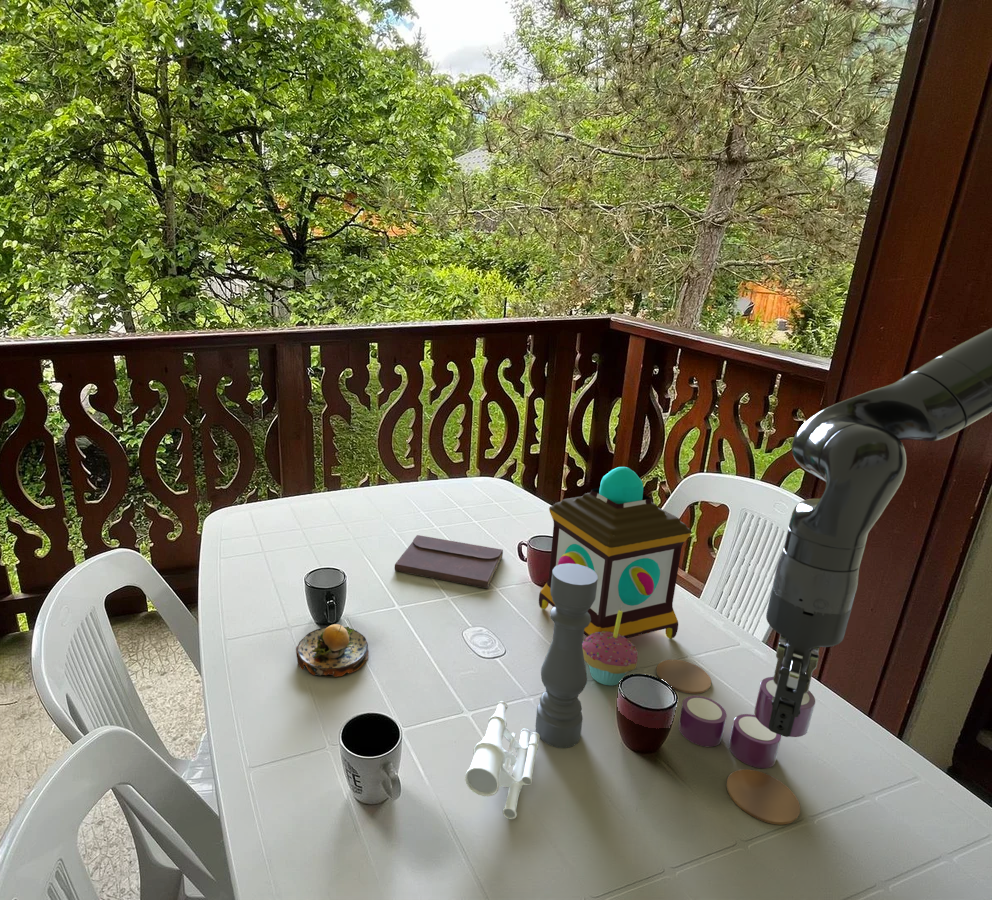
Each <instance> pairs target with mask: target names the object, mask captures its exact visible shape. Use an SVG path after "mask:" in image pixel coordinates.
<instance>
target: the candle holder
mask: <svg viewBox="0 0 992 900" xmlns="http://www.w3.org/2000/svg"><path fill="white" fill-rule="evenodd" d="M597 581H598V576H597V573H595V572H594V571H593V570H592V569H590V568H588V567H586V566H583V565H579V564H571V563H566V564H560V565H557V566H555V567H554V569H553V570H552V580H551V590H550V592H551V596H552V600H553V602H554V604H555V607H553V606H552V608H551V609H550V610H549V614H550V620H551V621H552V622H553V633H552V640H551V642H550V645H549V648H548V650H547V653H546V656H545V658H544V660H543V663H542V666H541V668H540V677H541V682H542V684H543V686H544V689H545V691H543V693H542V694H541V695H540V697H539V703H538V704H537V707H536V714H535V715H536V716H535V725H534V726H535V732H537V733H538V734H539V735H540V739H539V740H542V741H543V742H544V743H545V744H546V745H549V746H551V747H553V748H559V749H560V748H561V749H566V748H567V749H568V748H572V747H574V746H575V745H577V744H578V743H579V742H580V739H581V734H582V726H583V719H584V717H583V713H582V710H583V707H582V703H581V701H580V699H579V698H578V697H579V695H581V694H582V693H583V691H584V689H585V688H586V685H587V683H588V675H587V668H586V661H585V660H584V654H583V647H582V645H583V640H584V636H585V635H584V629H585V627H587V626H588V625H589V623H590V622H591V617H590V614H589V613H588V612H587V611H588V609H590V608H591V606H592V604H593V602H594V601H595V598H596V589H597Z"/></svg>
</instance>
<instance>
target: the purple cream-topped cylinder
mask: <svg viewBox="0 0 992 900" xmlns="http://www.w3.org/2000/svg"><path fill="white" fill-rule="evenodd" d="M727 716H728V715H727V710H725V708H724V707H723V706H722V705H721V704H720V702H719V703H718V702H717V701H715V700H714V699H712V698H710V697H706V696H703V695H688V696H686V697H685V698H684V699H683V700H682V703H681V707H680V714H679V720H678V725H677V726H678V730H679V733H680V734H681V735H682V736H683V737H684V738H685V739H686V740H688V741H690V743H692V744H695V745H697V746H699V747H700V746H701V747H704V748H705V747H706V748H713V747H716V746H719V745H720V744H721V743H722V741H723V736H724V731H725V727H726V722H727Z"/></svg>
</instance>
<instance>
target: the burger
mask: <svg viewBox="0 0 992 900" xmlns="http://www.w3.org/2000/svg"><path fill="white" fill-rule="evenodd" d="M369 652H370V651H369V643H368V640H367V638H366V637H365V636H364V634H362V633H361V632H359V631H358V630H355V629H354V628H351V627H349V626H343V625H342V624H337V623H334V624H331V625H329V626H326V627H325V626H324V627H321V628H316V629H314V630H312V631H310V632H308V633H307V634H306V635H305V636H304V637H303V638H301V640H300V641H298V644H297V646H296V647H295V653H296V661H297V665H298V666H299V667H300V669H301V670H302V671H303V670H305V667H306V669H307V671H308V672H309V673H310V674H311V675H312V676H316V675H317V676H318V677H321V676H328V675H332V676H333V677H335V678H337V677H343V676H344V675H345V674H346V673H348V674H349V675H350V674H352V673H354V672H357V671H359V669H361V668H362V667H363V666H364V665H365V663H366V662H367V661H368V659H369V655H370V653H369Z"/></svg>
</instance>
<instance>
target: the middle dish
mask: <svg viewBox="0 0 992 900" xmlns="http://www.w3.org/2000/svg"><path fill="white" fill-rule="evenodd" d="M781 741H782V735H779V734H777V733H774V732H772V731H770V730H769V729H768V728H766V727H765V726H763V725H762V724H761V723H760V722H759V721H758V720H757V718H756V716H755V714H751V713H741V714H738V715H736V717H734V719H733V722H732V727H731V732H730V736H729V741H728V748H729V751H730V753H731V754H732V755H733V756H734V757H735V758H736V759H737V760H739V761H740V762H741V763H743V764H745V765H747V766H749V767H753V768H757V769H769V768H772V767H774V765H775V764H776V761H777V757H778V753H779V749H780V745H781Z"/></svg>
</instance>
